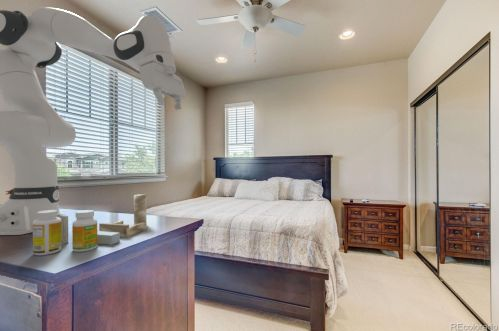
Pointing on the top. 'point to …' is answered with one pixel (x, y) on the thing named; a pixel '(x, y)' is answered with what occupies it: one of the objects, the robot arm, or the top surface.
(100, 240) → the wall
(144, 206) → the dowel
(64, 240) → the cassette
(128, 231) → the cradle
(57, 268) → the top surface
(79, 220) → the supplement bottle
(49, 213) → the supplement bottle
